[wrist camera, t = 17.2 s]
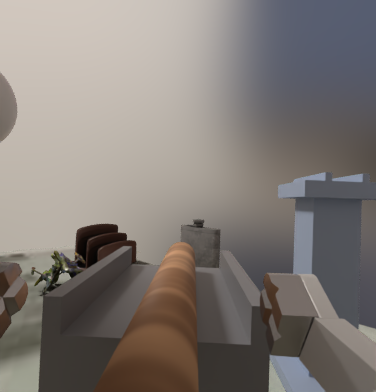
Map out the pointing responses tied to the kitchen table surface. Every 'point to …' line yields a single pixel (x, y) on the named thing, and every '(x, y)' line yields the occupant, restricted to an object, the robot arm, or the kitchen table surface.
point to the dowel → (160, 333)
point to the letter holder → (100, 243)
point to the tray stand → (124, 311)
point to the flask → (202, 243)
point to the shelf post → (326, 252)
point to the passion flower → (60, 264)
